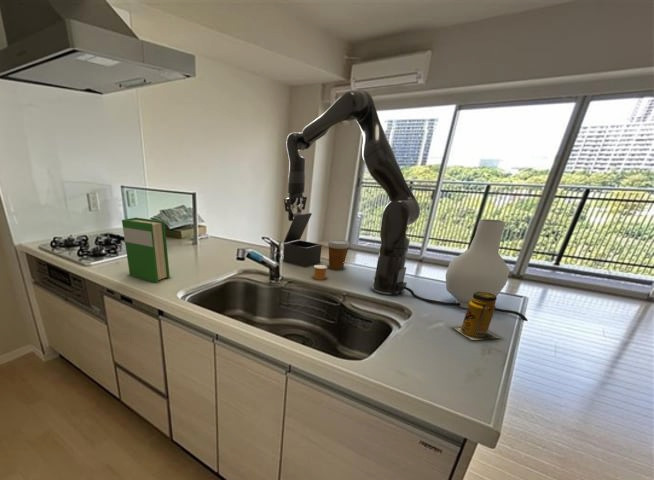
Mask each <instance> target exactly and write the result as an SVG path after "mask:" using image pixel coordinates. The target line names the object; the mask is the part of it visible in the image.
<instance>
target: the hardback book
mask: <svg viewBox="0 0 654 480" xmlns="http://www.w3.org/2000/svg"><path fill="white" fill-rule="evenodd" d="M121 224H122V225H121V226H122V232H123V238H124V239H123V240H124V246H125V251H126V252H125V253H126V259H127V264H128V272H129V276H130V277H134V278H138V279H141V280H145V281H149V282H152V283H157V284H158V283H159V280H160V281H161V280H162V279H170V278H171V275H170V265H169V254H168V245H167V236H166V235H167V234H166V225H165V224H166V223H165V220H158V219H151V218H150V219H149V218H144V217H131V218H125V219H124V218H123V219H121Z"/></svg>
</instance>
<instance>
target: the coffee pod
mask: <svg viewBox="0 0 654 480" xmlns="http://www.w3.org/2000/svg"><path fill="white" fill-rule="evenodd" d="M313 268H314V273H313V279H315V280H317V281H324V280H325V279H326V275H327V269H328V266H327V265H325V264H314V265H313Z"/></svg>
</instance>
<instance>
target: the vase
mask: <svg viewBox="0 0 654 480" xmlns="http://www.w3.org/2000/svg"><path fill="white" fill-rule="evenodd" d="M505 227H506V221H505V220H501V219H491V218H489V219H488V218H481V219H479V221H478V225H477V227H476V231H475V234H474V237H473V239H472V241H471V243H470V246H469V248H468V249H467V250H465V251H464V252H462V253H461V254H459V255H458V256H456V257H454V258H453V259H452V260H449V261H450V262H449V264H448V267H447V270H446V272H445V288H446V289H445V290H446V292H448V293H449V294H450V295H451V296H452V297H453V298H455V303H460V306H459V307H460V308H462V309H463V308H464V309H467V308H468V305H469V302H470V301H472V298H473V294H474V293H475V292H486V293H491V294H493V295H495V296H496V298H497V297H498V295H500V293H501V292H502V291H503V289H504V288H505V286H506V285H507V281H508V278H509V274H510V271H511V270H510V267H509V266H508V264H507V263H506V262H505V260H504V259H503V257H502V255H501V254H500V253H499V252H500V246H501V239H502V235H503V233H504V229H505Z"/></svg>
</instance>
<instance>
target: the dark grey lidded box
mask: <svg viewBox="0 0 654 480" xmlns="http://www.w3.org/2000/svg"><path fill="white" fill-rule="evenodd" d="M283 243H284V242H283ZM322 245H323V244H321V243H317V242H312V241H308V240H301V239H299V240H295V241H291V242H287V243H284V244H283V255H284V259H283V258H282V261H283V262H284V263H289V264H292V265H296V266H299V267H304V268H306V267H309V266H314V265H317V264H319V263H321V258H322V257H321V255H322Z"/></svg>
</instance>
